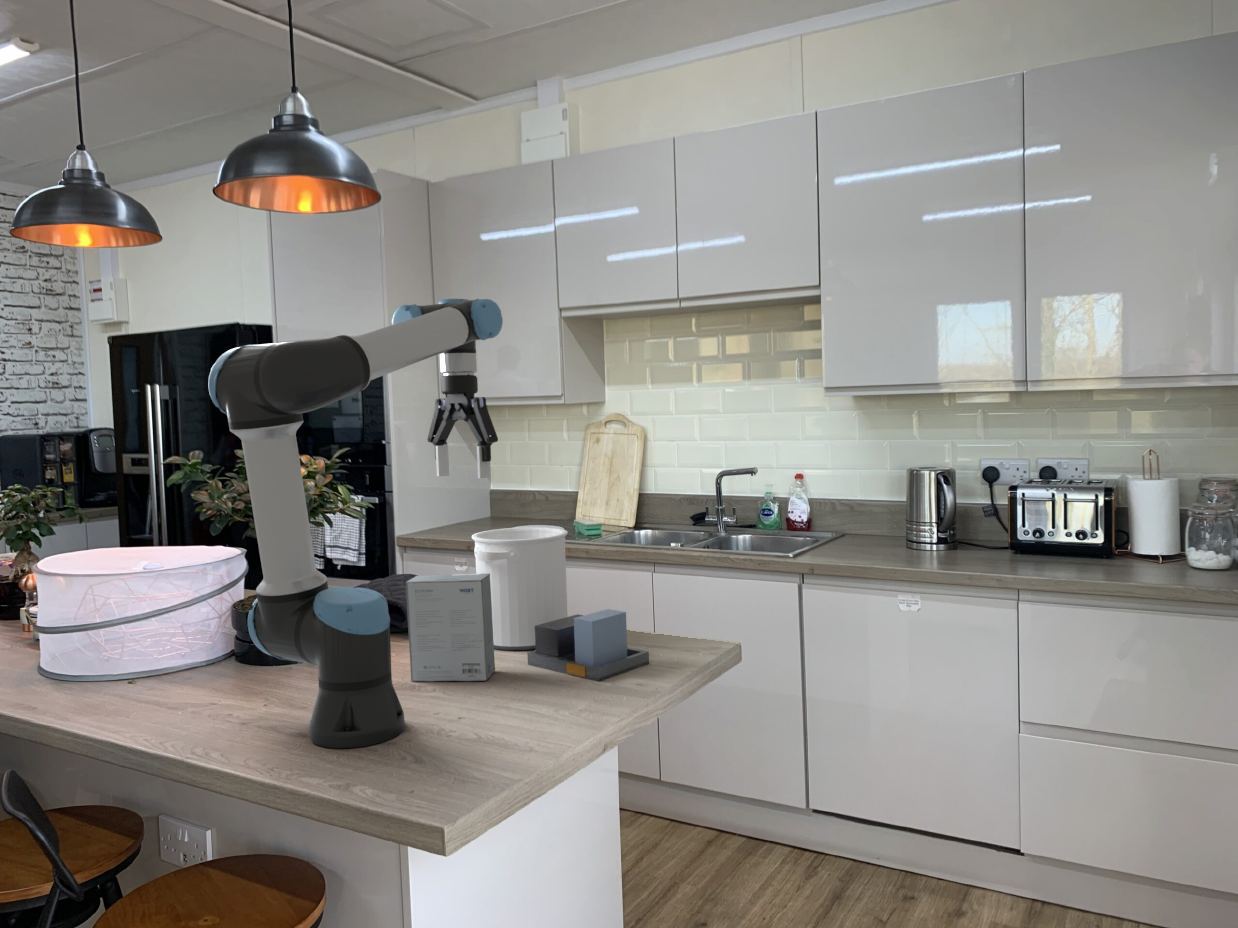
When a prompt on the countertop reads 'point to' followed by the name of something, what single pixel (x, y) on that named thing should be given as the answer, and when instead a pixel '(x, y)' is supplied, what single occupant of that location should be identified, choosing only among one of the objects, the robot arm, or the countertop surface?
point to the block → (600, 637)
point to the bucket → (523, 581)
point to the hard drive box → (450, 627)
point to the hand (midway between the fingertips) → (463, 477)
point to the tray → (560, 653)
